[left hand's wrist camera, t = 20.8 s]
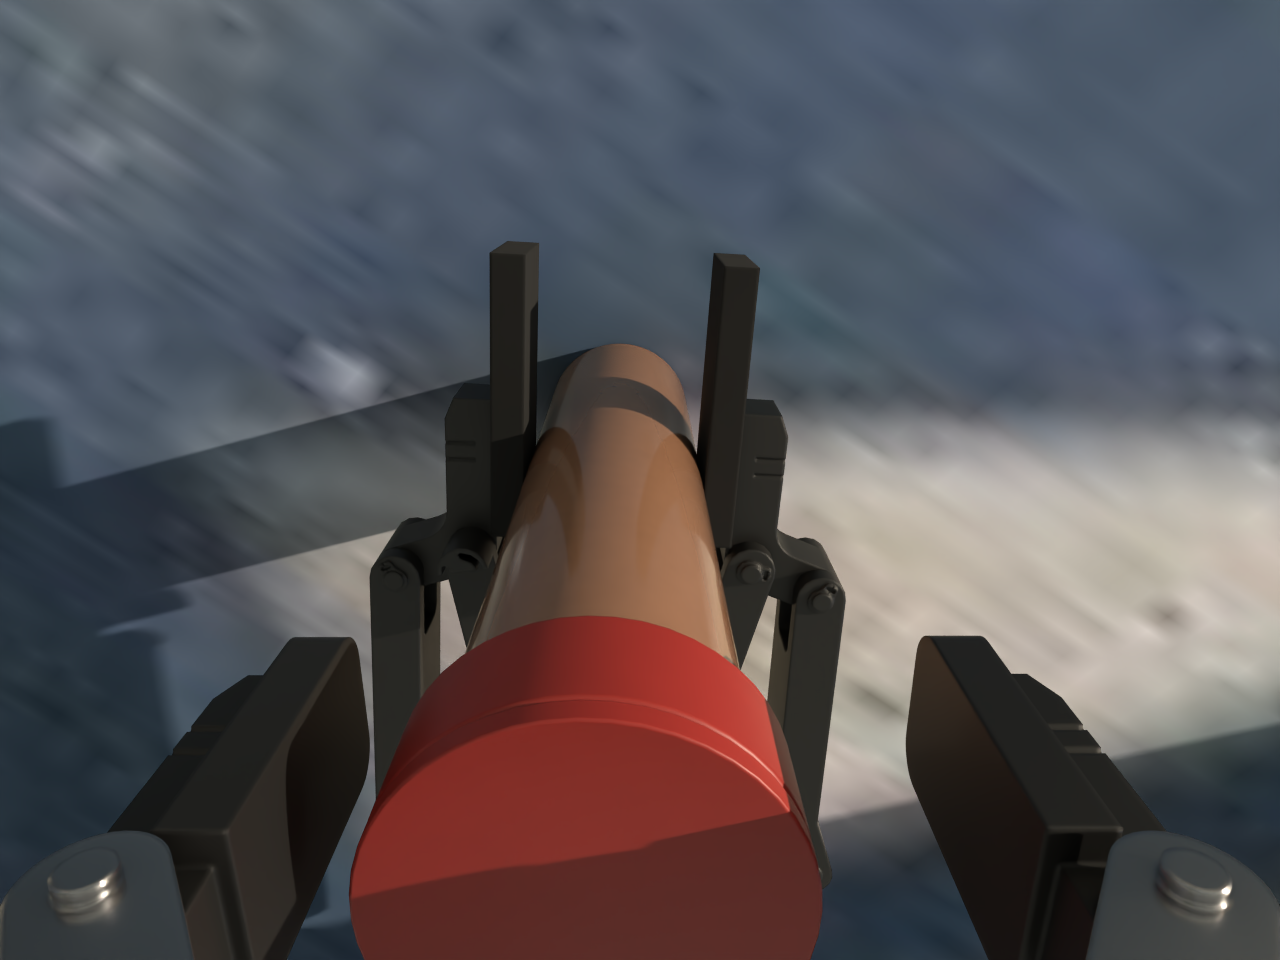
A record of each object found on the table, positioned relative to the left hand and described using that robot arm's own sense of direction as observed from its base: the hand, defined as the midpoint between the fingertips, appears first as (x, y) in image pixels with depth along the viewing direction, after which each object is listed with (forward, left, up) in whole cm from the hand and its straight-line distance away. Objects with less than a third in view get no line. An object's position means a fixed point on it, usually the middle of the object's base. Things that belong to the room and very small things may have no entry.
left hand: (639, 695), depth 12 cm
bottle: (-1, +1, -17) cm, 17 cm away
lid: (-1, 0, +2) cm, 3 cm away
